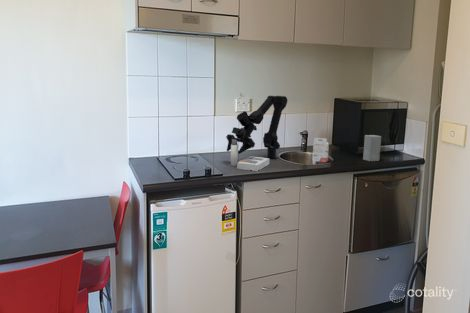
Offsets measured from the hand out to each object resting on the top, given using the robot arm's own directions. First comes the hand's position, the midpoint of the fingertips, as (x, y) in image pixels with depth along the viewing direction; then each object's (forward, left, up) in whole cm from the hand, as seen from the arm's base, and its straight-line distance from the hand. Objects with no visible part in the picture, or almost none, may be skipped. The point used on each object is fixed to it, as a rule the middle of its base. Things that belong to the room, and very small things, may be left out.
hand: (232, 152), depth 243 cm
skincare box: (-37, +82, -8) cm, 91 cm away
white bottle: (-1, +1, -8) cm, 8 cm away
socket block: (-1, +13, -8) cm, 15 cm away
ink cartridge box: (-26, +50, -8) cm, 57 cm away
